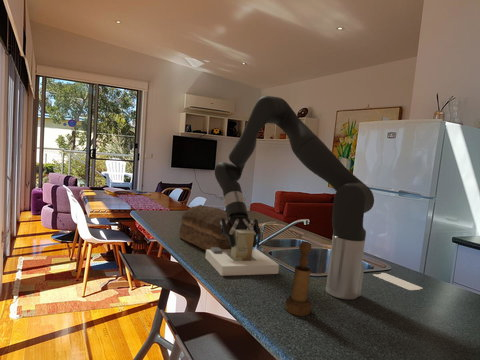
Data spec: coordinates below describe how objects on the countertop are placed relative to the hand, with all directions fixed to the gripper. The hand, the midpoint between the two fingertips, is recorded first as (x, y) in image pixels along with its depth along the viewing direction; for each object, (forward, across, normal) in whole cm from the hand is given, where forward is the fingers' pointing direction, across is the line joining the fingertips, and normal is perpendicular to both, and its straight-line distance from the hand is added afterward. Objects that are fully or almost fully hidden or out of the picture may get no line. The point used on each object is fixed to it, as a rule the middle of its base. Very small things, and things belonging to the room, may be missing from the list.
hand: (244, 246), depth 123 cm
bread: (-13, -3, +24) cm, 27 cm away
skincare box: (+4, 0, +6) cm, 8 cm away
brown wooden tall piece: (+29, +2, -18) cm, 34 cm away
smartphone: (+19, +51, -8) cm, 55 cm away
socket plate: (+4, 0, +6) cm, 7 cm away
